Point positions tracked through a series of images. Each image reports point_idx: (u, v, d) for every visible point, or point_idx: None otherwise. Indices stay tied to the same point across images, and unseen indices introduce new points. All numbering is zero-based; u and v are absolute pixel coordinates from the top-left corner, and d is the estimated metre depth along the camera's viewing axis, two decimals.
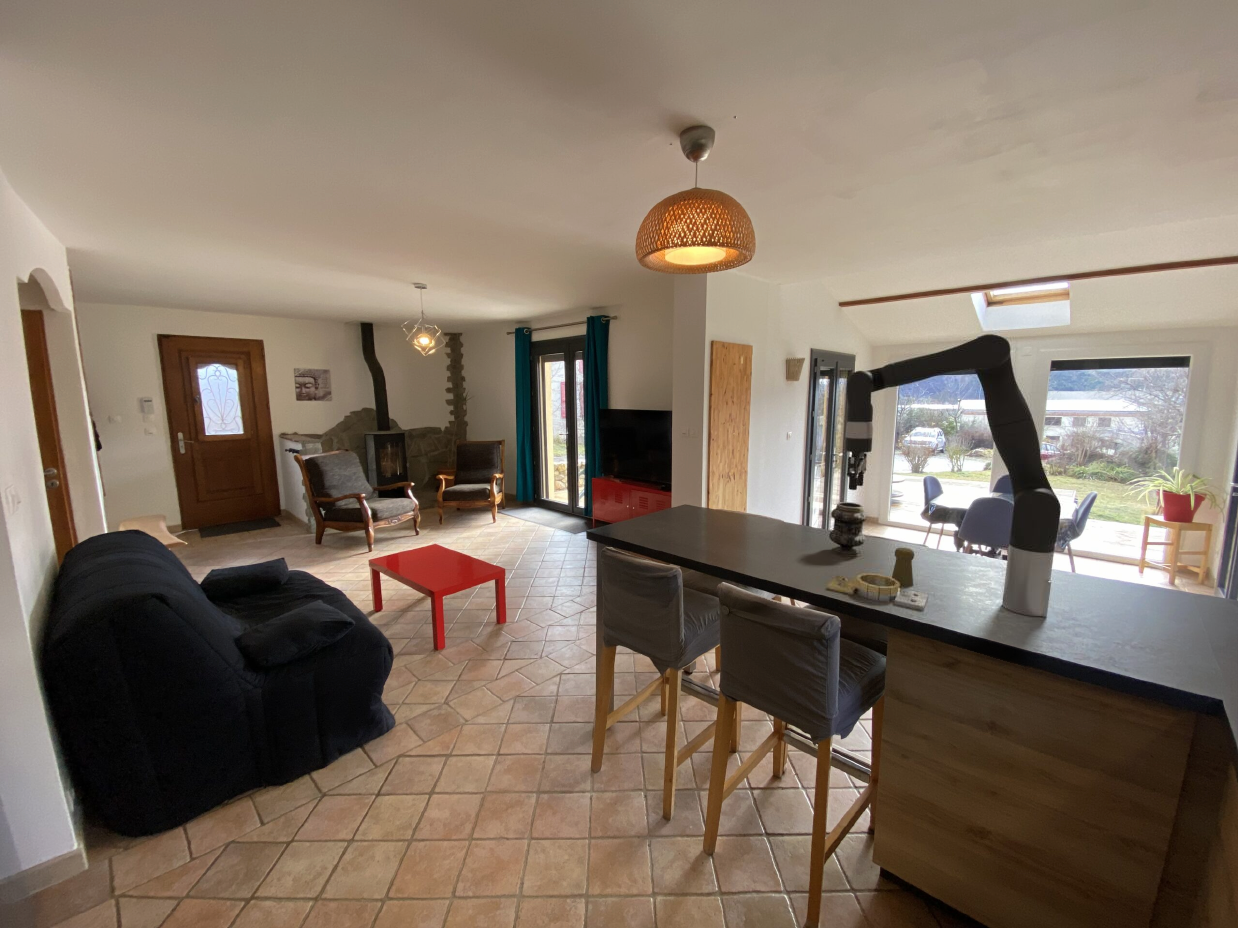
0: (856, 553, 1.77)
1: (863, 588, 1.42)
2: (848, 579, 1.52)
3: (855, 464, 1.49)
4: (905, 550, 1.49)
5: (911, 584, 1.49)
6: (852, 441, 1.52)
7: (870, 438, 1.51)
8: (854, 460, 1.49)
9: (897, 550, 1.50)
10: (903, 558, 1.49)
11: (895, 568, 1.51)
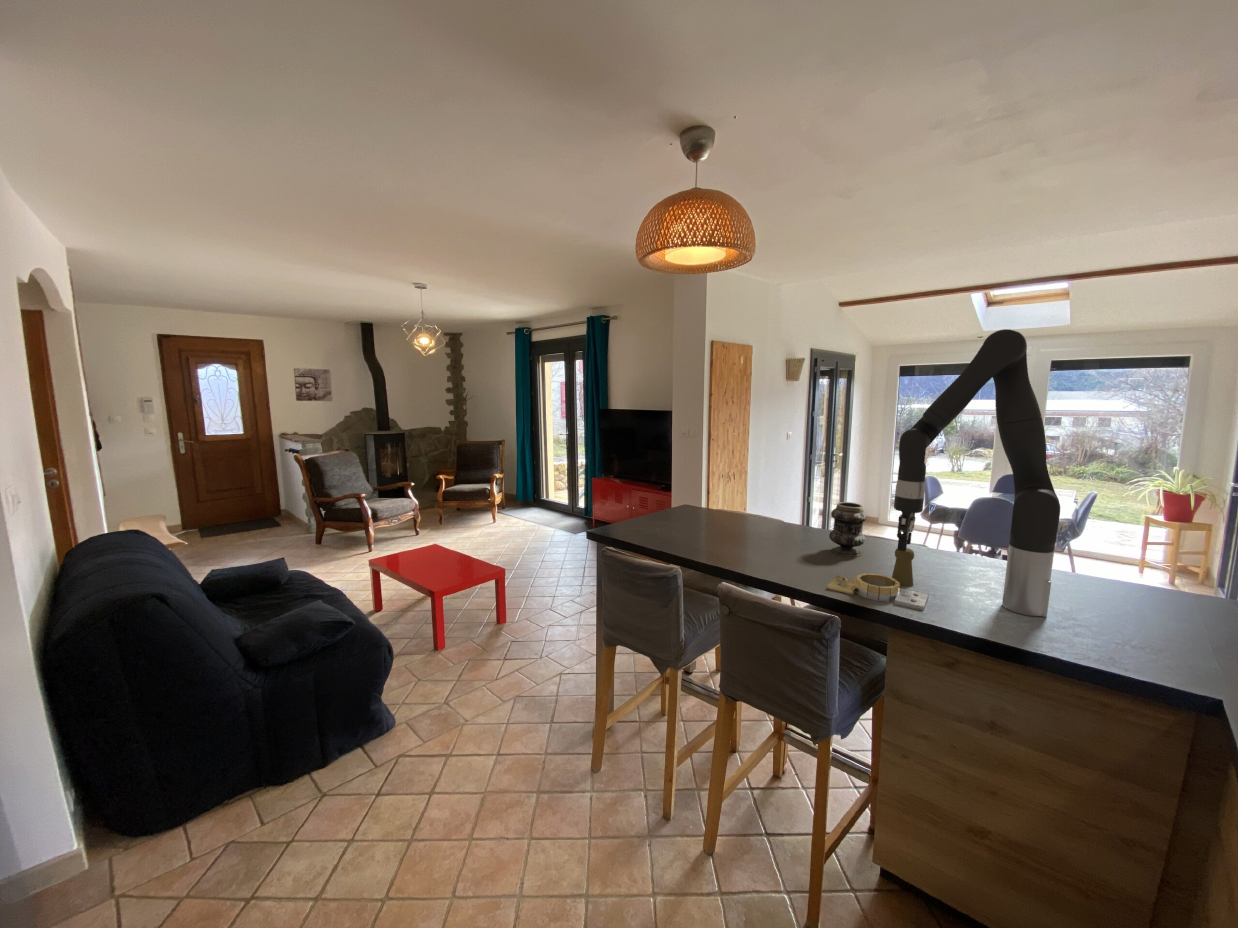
0: (856, 553, 1.77)
1: (863, 588, 1.42)
2: (848, 579, 1.52)
3: (906, 526, 1.43)
4: None
5: (911, 584, 1.49)
6: (903, 500, 1.46)
7: (922, 498, 1.45)
8: (905, 522, 1.43)
9: (897, 550, 1.50)
10: (903, 558, 1.49)
11: (895, 568, 1.51)
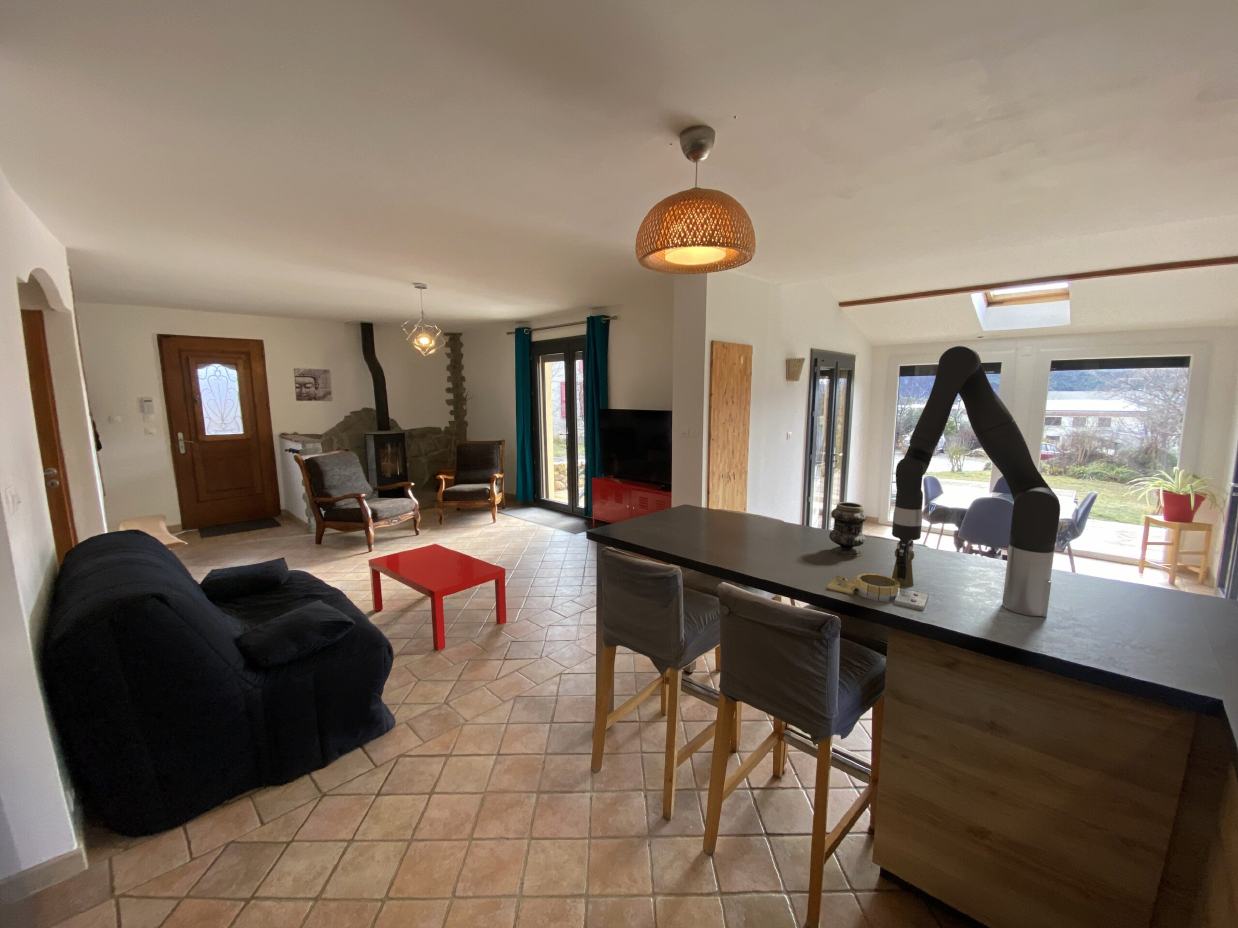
0: (856, 553, 1.77)
1: (863, 588, 1.42)
2: (848, 579, 1.52)
3: (905, 557, 1.45)
4: None
5: (911, 584, 1.49)
6: (900, 527, 1.47)
7: (920, 525, 1.46)
8: (903, 553, 1.45)
9: None
10: None
11: (895, 568, 1.51)
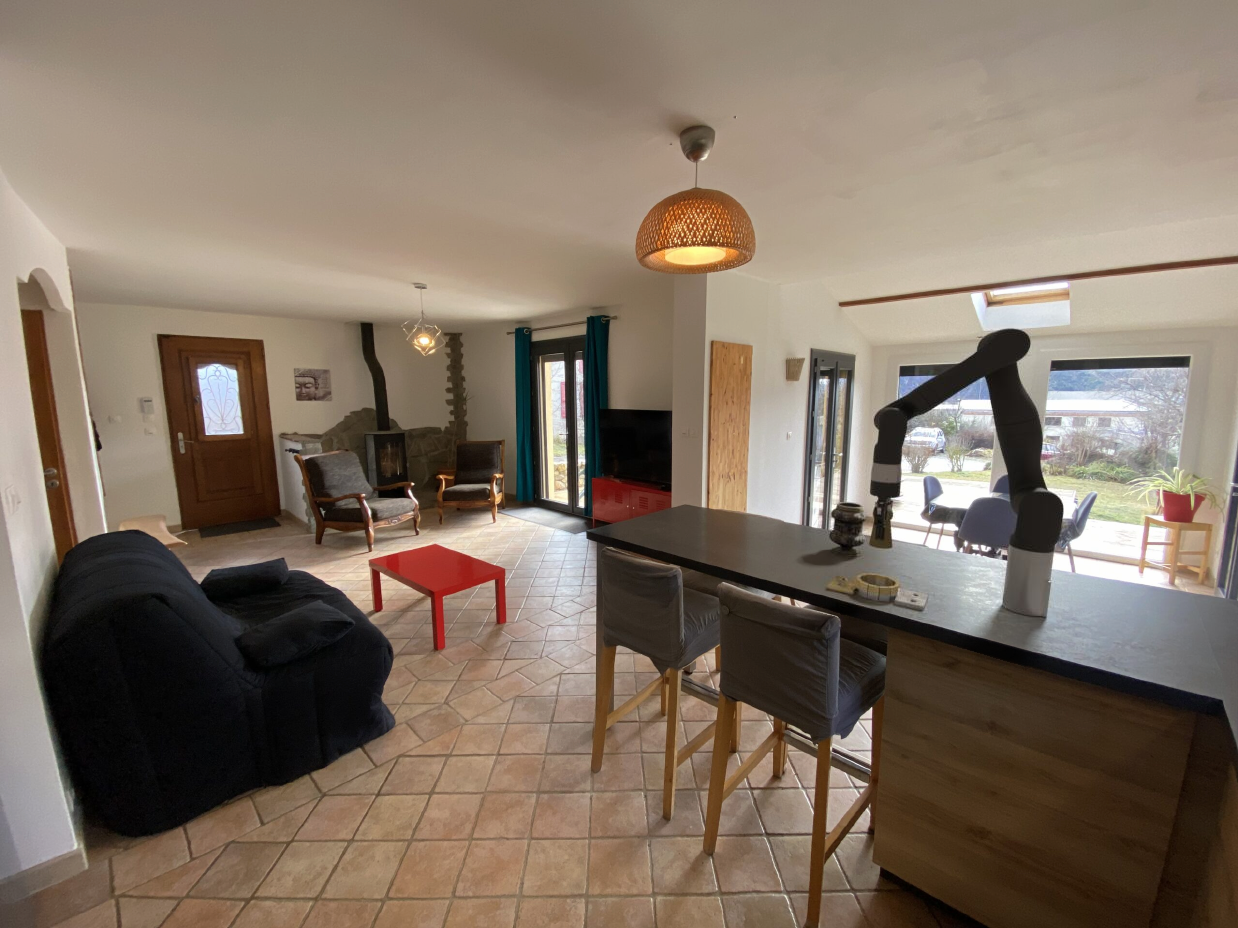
0: (856, 553, 1.77)
1: (863, 588, 1.42)
2: (848, 579, 1.52)
3: (882, 515, 1.35)
4: None
5: (890, 546, 1.39)
6: (878, 485, 1.37)
7: (899, 482, 1.36)
8: (881, 512, 1.35)
9: None
10: None
11: (873, 529, 1.41)
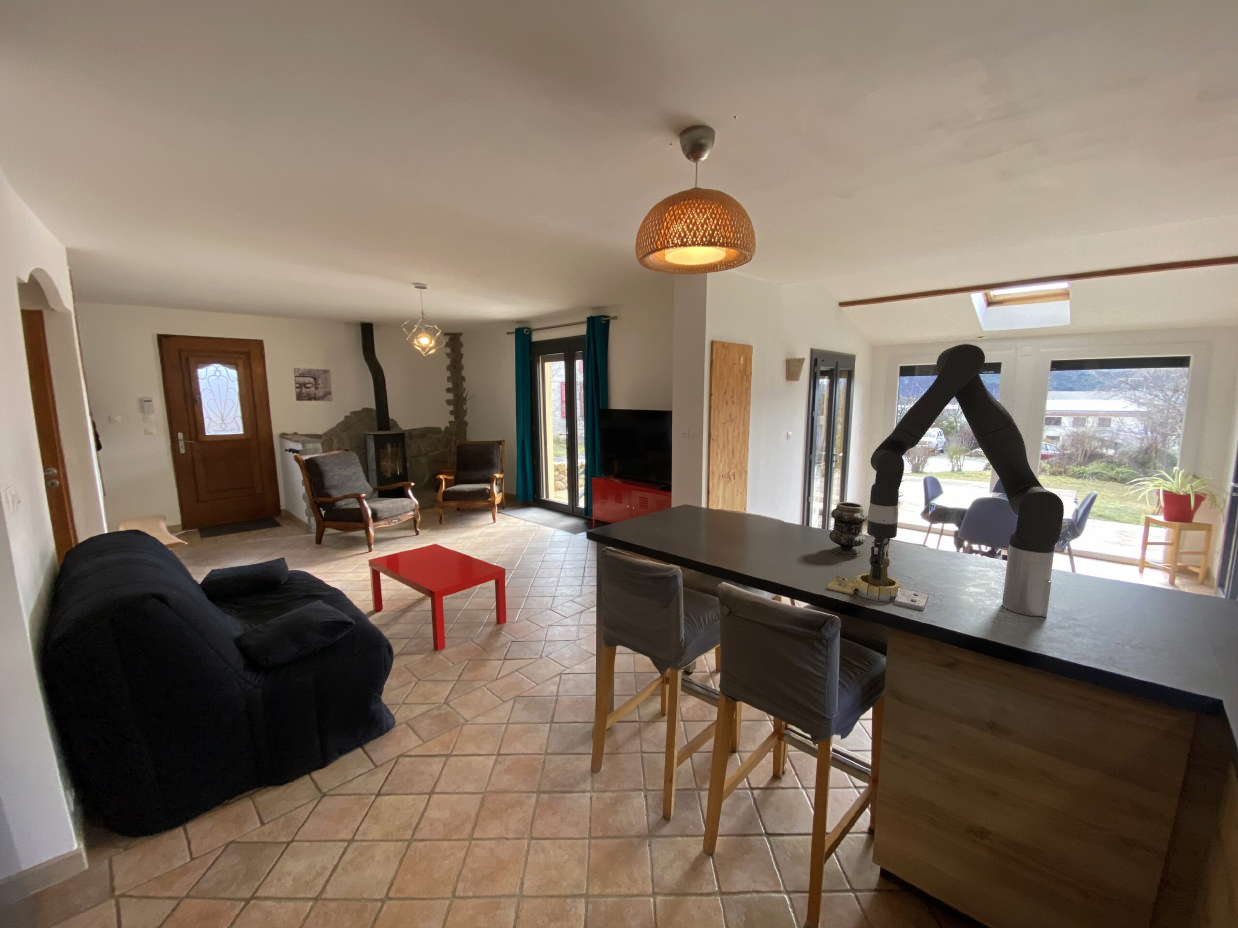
0: (856, 553, 1.77)
1: (863, 588, 1.42)
2: (848, 579, 1.52)
3: (879, 555, 1.37)
4: None
5: None
6: (875, 525, 1.39)
7: (895, 523, 1.38)
8: (878, 551, 1.36)
9: None
10: None
11: (870, 576, 1.43)
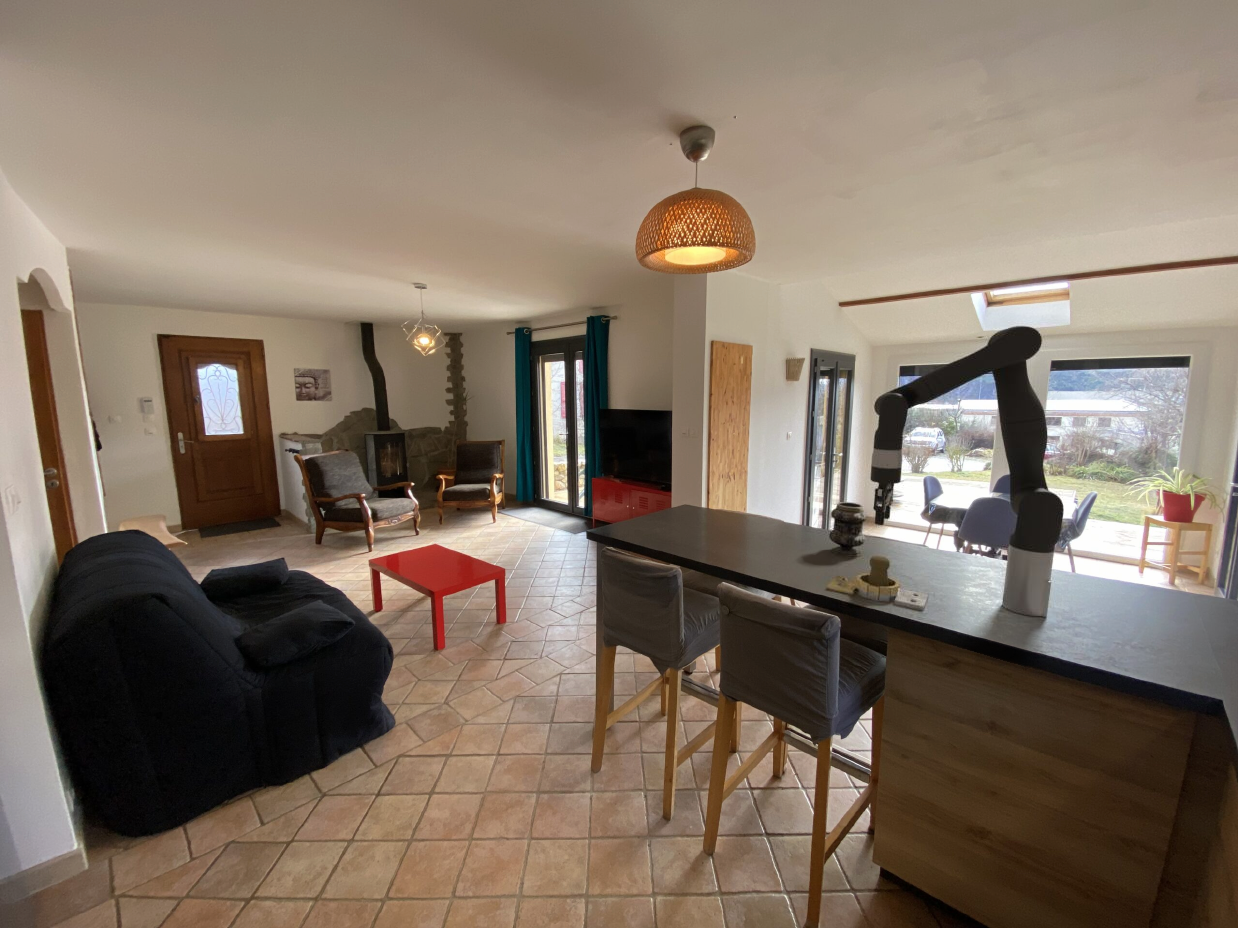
0: (856, 553, 1.77)
1: (863, 588, 1.42)
2: (848, 579, 1.52)
3: (883, 497, 1.34)
4: (880, 559, 1.41)
5: None
6: (879, 471, 1.37)
7: (899, 468, 1.36)
8: (882, 492, 1.34)
9: (872, 559, 1.43)
10: (878, 568, 1.41)
11: (870, 578, 1.43)
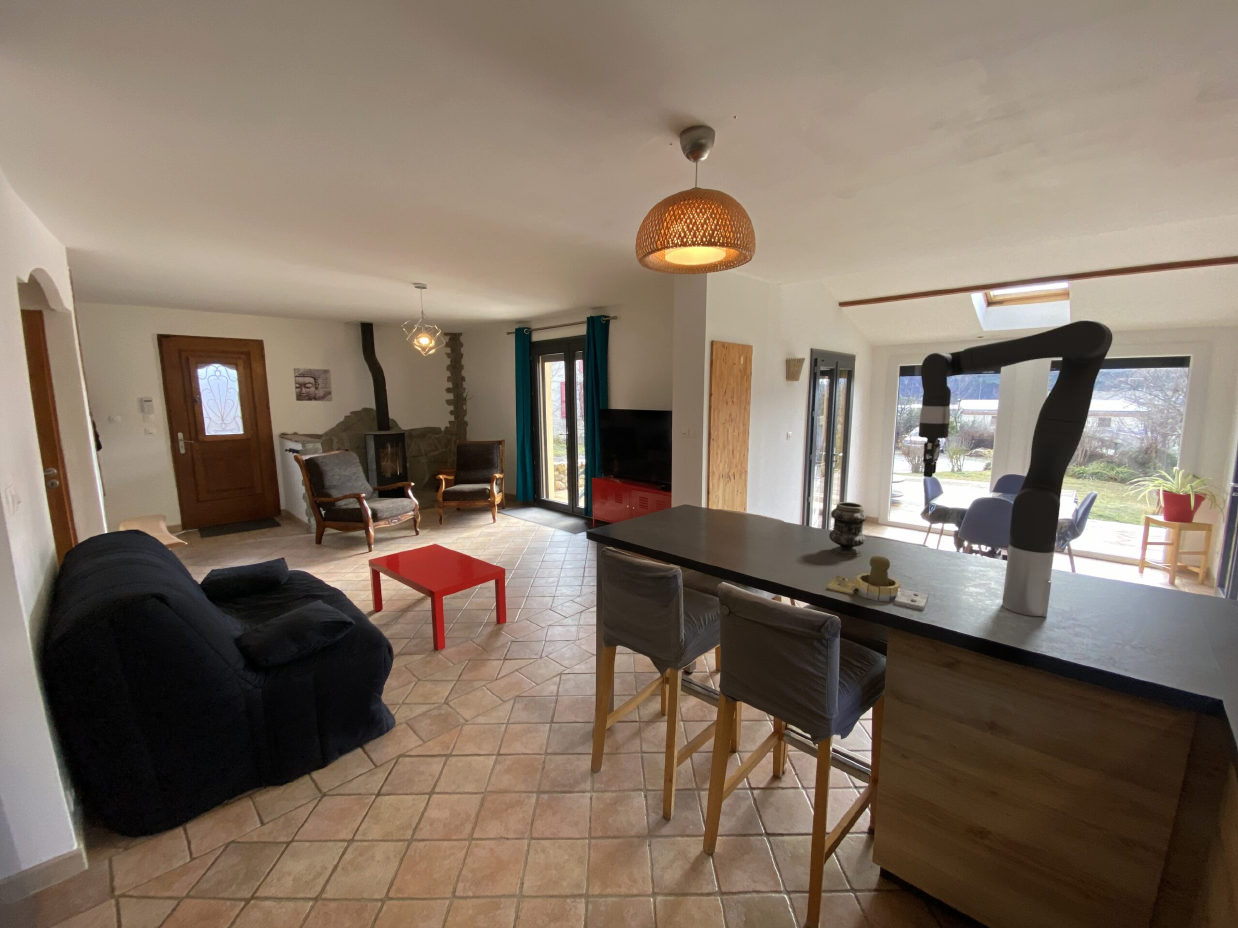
0: (856, 553, 1.77)
1: (863, 588, 1.42)
2: (848, 579, 1.52)
3: (933, 450, 1.43)
4: (880, 559, 1.41)
5: None
6: (928, 426, 1.46)
7: (947, 423, 1.45)
8: (932, 446, 1.43)
9: (872, 559, 1.43)
10: (878, 568, 1.41)
11: (870, 578, 1.43)
